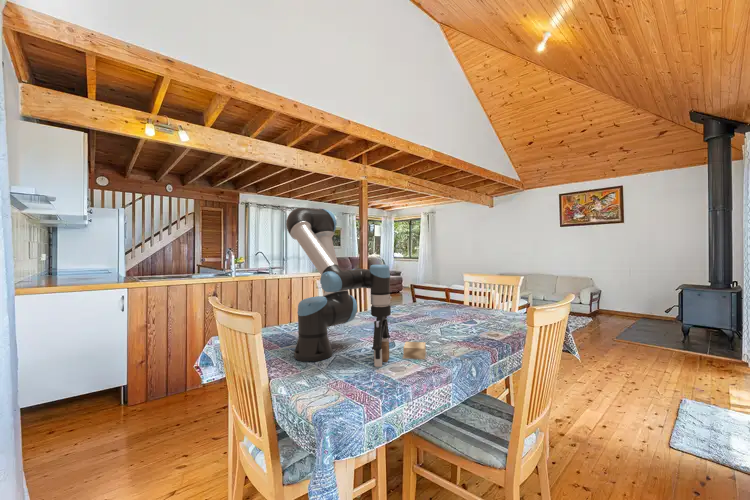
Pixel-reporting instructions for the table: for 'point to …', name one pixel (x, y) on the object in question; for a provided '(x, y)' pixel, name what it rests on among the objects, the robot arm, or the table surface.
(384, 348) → the walnut block
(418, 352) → the maple base
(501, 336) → the table surface
